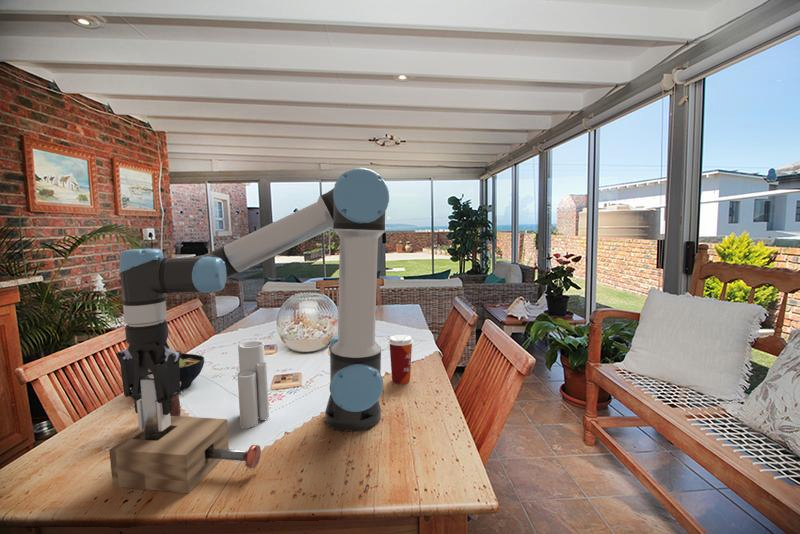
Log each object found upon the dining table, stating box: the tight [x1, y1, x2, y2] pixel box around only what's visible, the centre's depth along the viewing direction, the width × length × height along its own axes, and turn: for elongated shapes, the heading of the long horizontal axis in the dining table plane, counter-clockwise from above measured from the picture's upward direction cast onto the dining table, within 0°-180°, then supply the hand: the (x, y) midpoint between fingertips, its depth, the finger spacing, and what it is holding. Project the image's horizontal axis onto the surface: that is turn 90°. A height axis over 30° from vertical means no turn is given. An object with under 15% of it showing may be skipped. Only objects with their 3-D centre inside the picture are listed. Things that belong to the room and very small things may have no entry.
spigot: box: [140, 374, 167, 441], centre depth 82 cm, size 4×4×14 cm
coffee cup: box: [388, 334, 414, 385], centre depth 128 cm, size 8×8×15 cm
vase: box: [237, 340, 270, 429], centre depth 104 cm, size 11×7×20 cm, turn 19°
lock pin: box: [205, 444, 262, 469], centre depth 81 cm, size 14×4×4 cm, turn 83°
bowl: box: [148, 353, 205, 392], centre depth 125 cm, size 17×17×10 cm
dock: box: [108, 415, 230, 494], centre depth 83 cm, size 17×14×8 cm
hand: (155, 427), depth 83 cm, fingers closed on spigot, 4 cm apart
